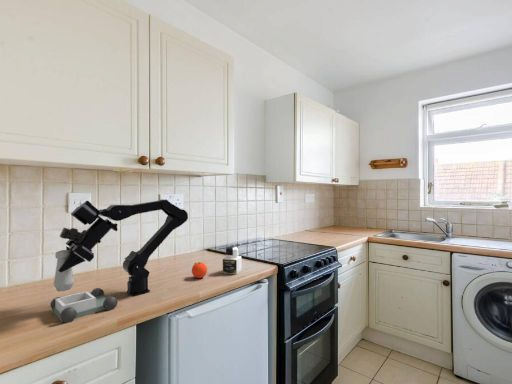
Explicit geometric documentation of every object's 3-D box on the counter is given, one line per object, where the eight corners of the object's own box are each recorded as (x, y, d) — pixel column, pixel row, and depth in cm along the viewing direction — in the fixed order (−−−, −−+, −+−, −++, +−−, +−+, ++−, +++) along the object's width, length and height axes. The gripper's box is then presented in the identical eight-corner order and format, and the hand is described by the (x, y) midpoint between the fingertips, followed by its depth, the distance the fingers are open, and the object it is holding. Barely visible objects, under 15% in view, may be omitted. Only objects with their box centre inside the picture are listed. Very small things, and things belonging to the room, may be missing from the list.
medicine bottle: (222, 273, 135) (222, 248, 135) (228, 269, 142) (228, 245, 142) (236, 274, 133) (236, 249, 133) (241, 270, 140) (241, 246, 139)
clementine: (187, 277, 129) (187, 261, 129) (200, 274, 134) (200, 259, 134) (197, 281, 124) (197, 264, 124) (210, 277, 129) (210, 261, 129)
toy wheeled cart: (102, 297, 105) (102, 285, 105) (117, 307, 96) (117, 294, 96) (50, 310, 94) (50, 297, 94) (61, 324, 84) (61, 309, 84)
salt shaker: (76, 285, 99) (74, 248, 98) (73, 290, 93) (72, 251, 93) (55, 288, 96) (54, 249, 96) (51, 293, 91) (50, 253, 91)
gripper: (71, 216, 104) (34, 251, 97) (81, 220, 90) (38, 261, 83) (96, 235, 109) (63, 269, 102) (109, 241, 95) (71, 282, 88)
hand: (59, 270), depth 94 cm, fingers closed on salt shaker, 3 cm apart
